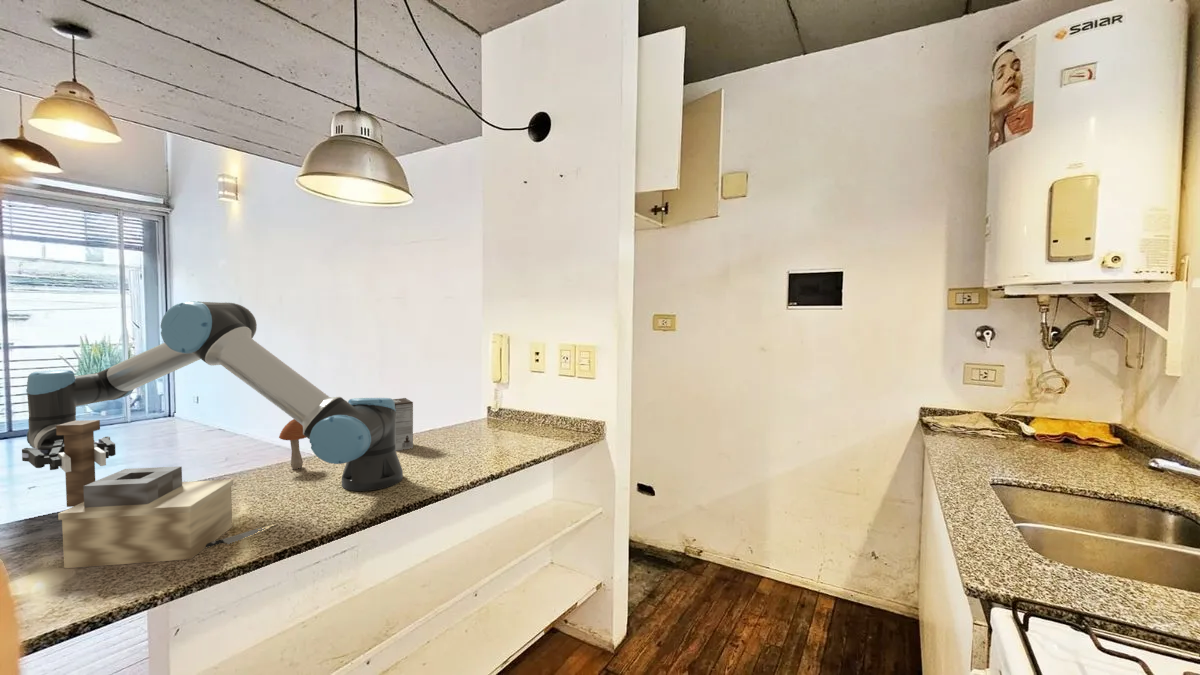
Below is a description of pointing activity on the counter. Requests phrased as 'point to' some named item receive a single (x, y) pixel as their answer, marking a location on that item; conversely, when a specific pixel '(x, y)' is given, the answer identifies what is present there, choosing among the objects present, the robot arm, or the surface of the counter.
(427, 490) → the counter surface
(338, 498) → the counter surface
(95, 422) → the brown t-shaped block
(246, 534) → the chef's knife
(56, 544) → the counter surface
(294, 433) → the mushroom
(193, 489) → the tan two-tone block
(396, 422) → the coffee box
